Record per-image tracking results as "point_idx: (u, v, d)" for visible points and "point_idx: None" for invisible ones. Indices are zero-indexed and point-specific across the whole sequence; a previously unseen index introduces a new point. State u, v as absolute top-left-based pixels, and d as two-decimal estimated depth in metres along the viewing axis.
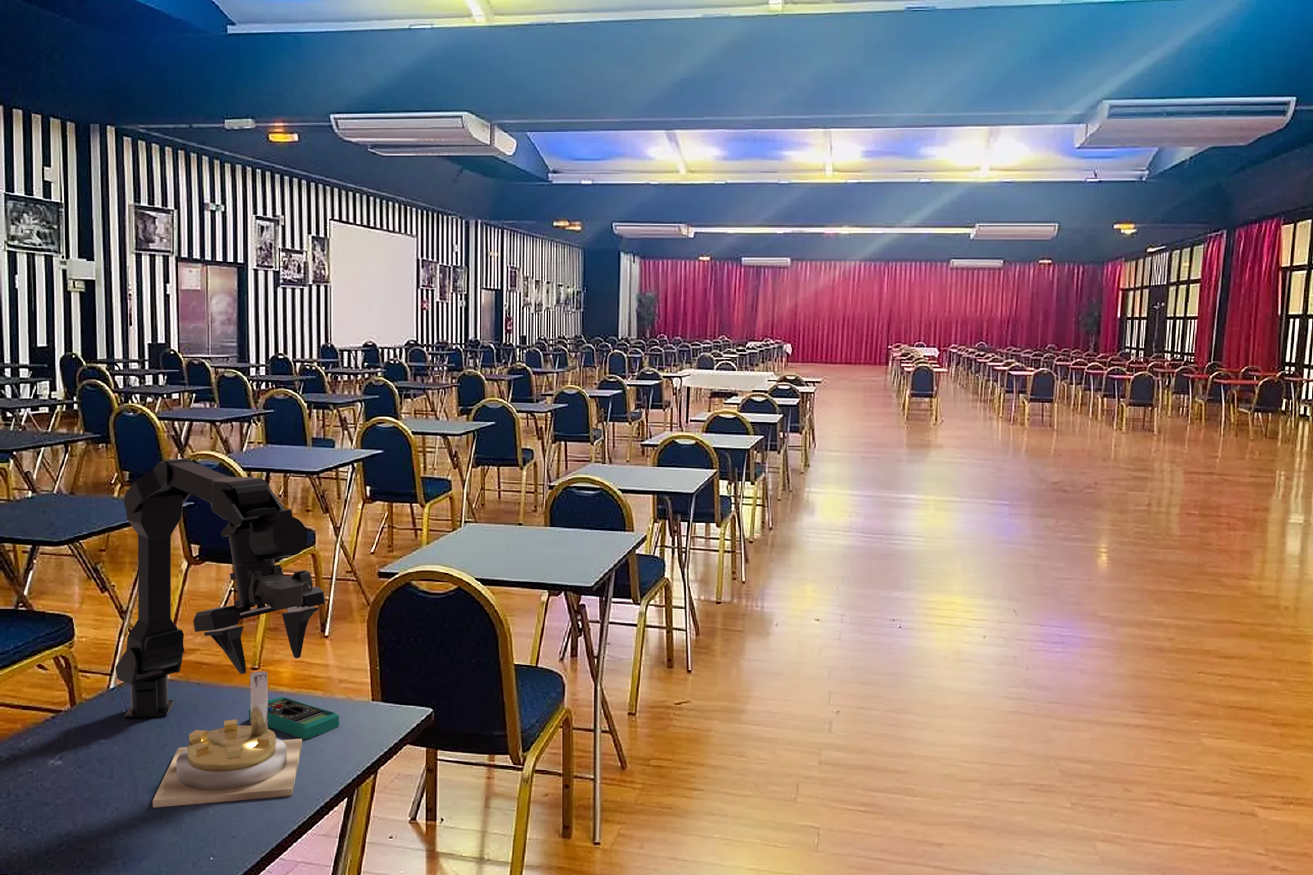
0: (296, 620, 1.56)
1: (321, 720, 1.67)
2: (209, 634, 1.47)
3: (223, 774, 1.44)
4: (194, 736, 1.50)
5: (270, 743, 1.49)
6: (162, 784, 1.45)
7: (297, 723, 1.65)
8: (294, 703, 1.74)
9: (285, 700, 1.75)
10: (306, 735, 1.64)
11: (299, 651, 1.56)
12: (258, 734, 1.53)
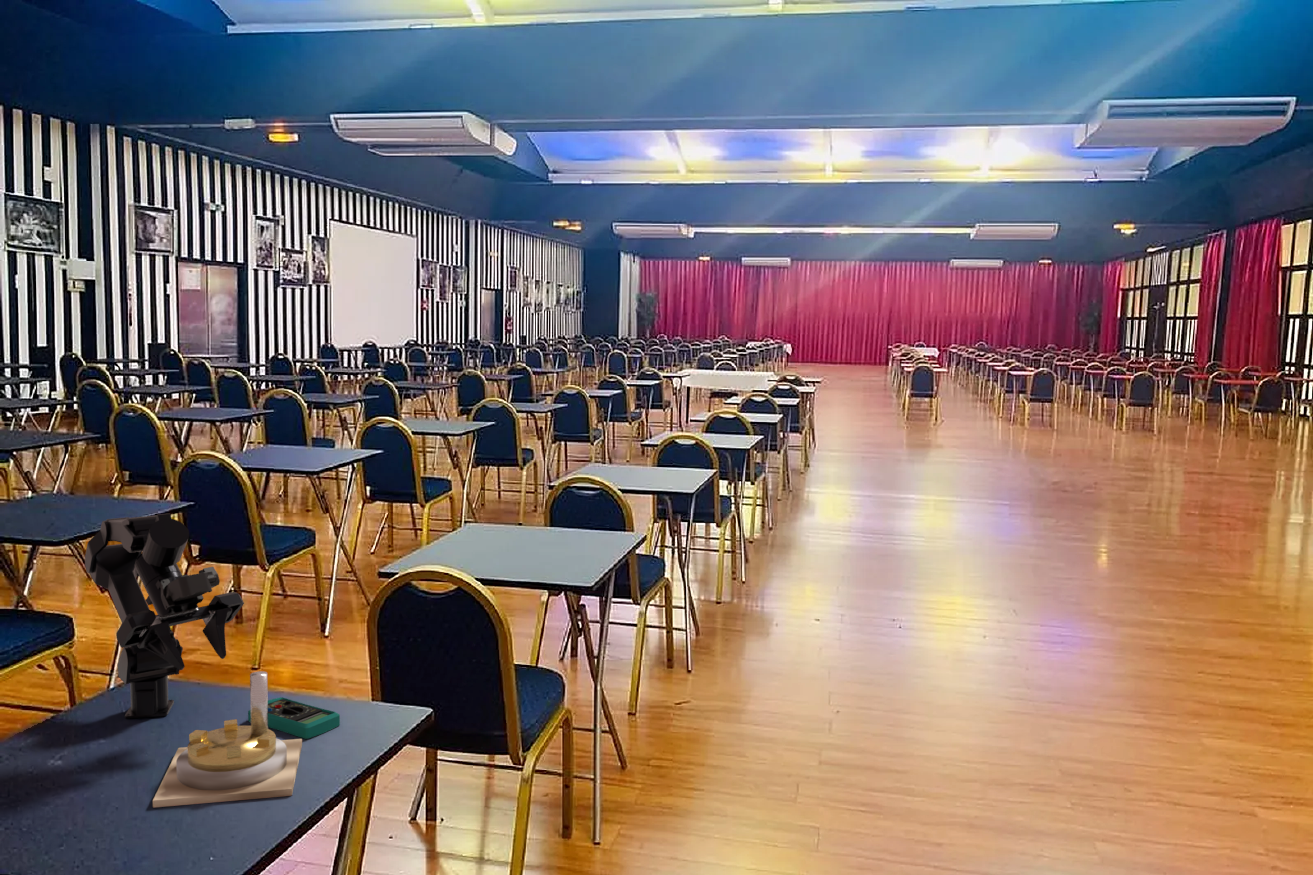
0: (213, 625, 1.65)
1: (322, 719, 1.67)
2: (141, 642, 1.58)
3: (223, 774, 1.44)
4: (194, 736, 1.50)
5: (270, 743, 1.49)
6: (162, 784, 1.45)
7: (298, 723, 1.65)
8: (293, 703, 1.74)
9: (284, 700, 1.75)
10: (308, 735, 1.64)
11: (223, 649, 1.63)
12: (258, 734, 1.53)
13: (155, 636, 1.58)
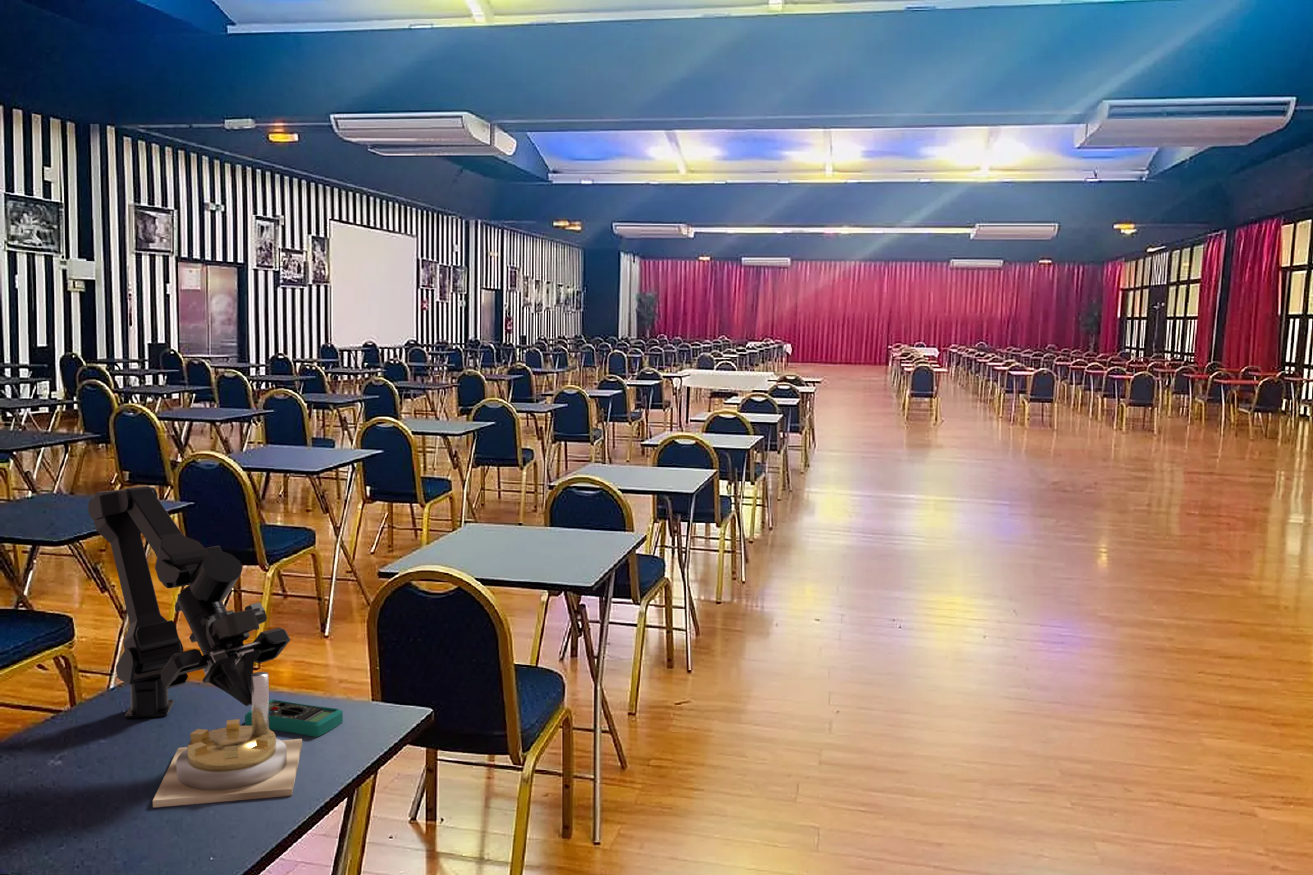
0: (241, 668, 1.56)
1: (329, 717, 1.68)
2: (206, 677, 1.53)
3: (223, 774, 1.44)
4: (195, 735, 1.50)
5: (269, 744, 1.49)
6: (162, 784, 1.45)
7: (307, 722, 1.66)
8: (288, 704, 1.73)
9: (276, 702, 1.74)
10: (319, 732, 1.65)
11: None
12: (259, 735, 1.53)
13: (220, 671, 1.54)
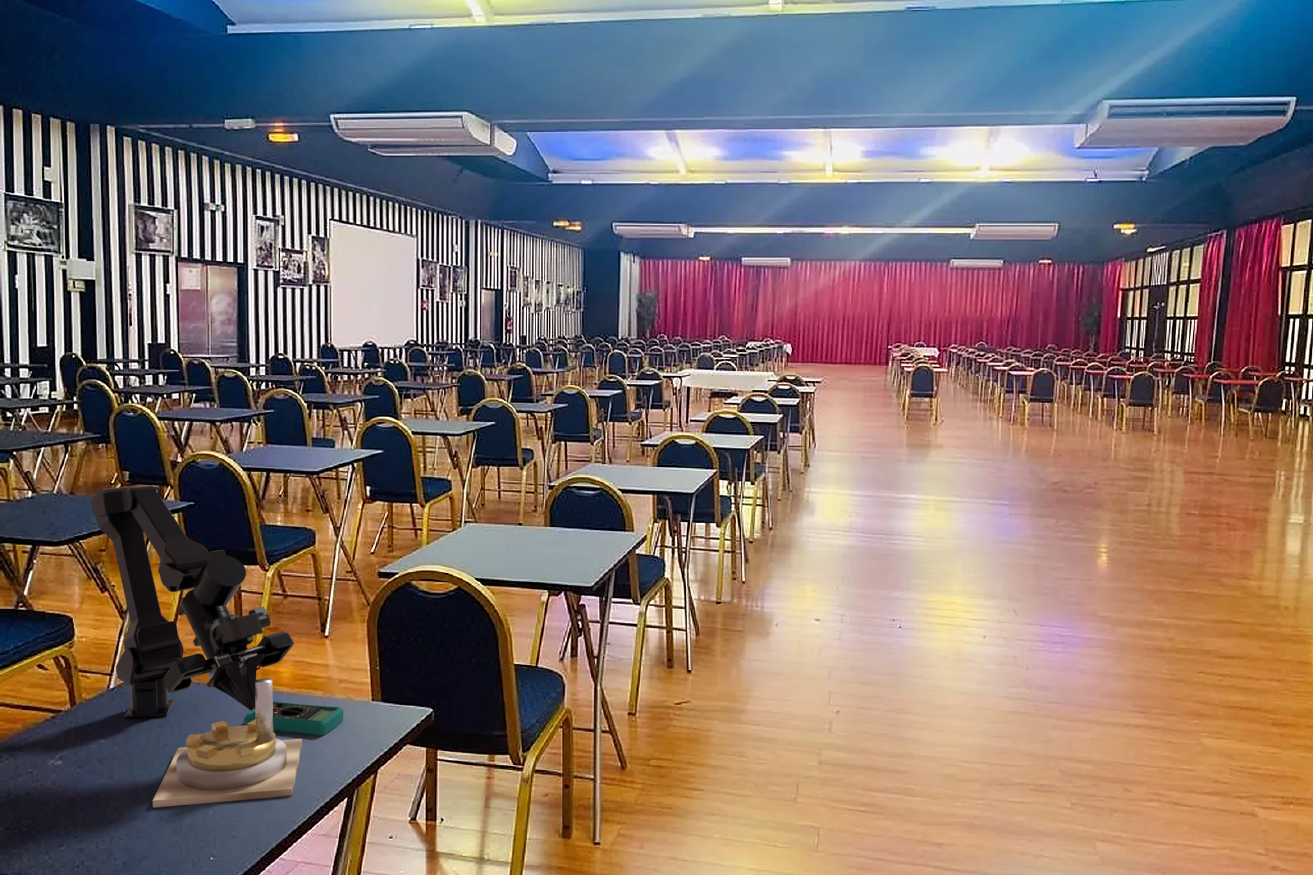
0: (244, 672, 1.55)
1: (332, 715, 1.69)
2: (210, 681, 1.53)
3: (223, 774, 1.44)
4: (213, 726, 1.54)
5: (243, 753, 1.46)
6: (162, 784, 1.45)
7: (312, 721, 1.66)
8: (286, 705, 1.73)
9: (273, 703, 1.73)
10: (324, 731, 1.66)
11: None
12: (257, 741, 1.50)
13: (225, 675, 1.54)
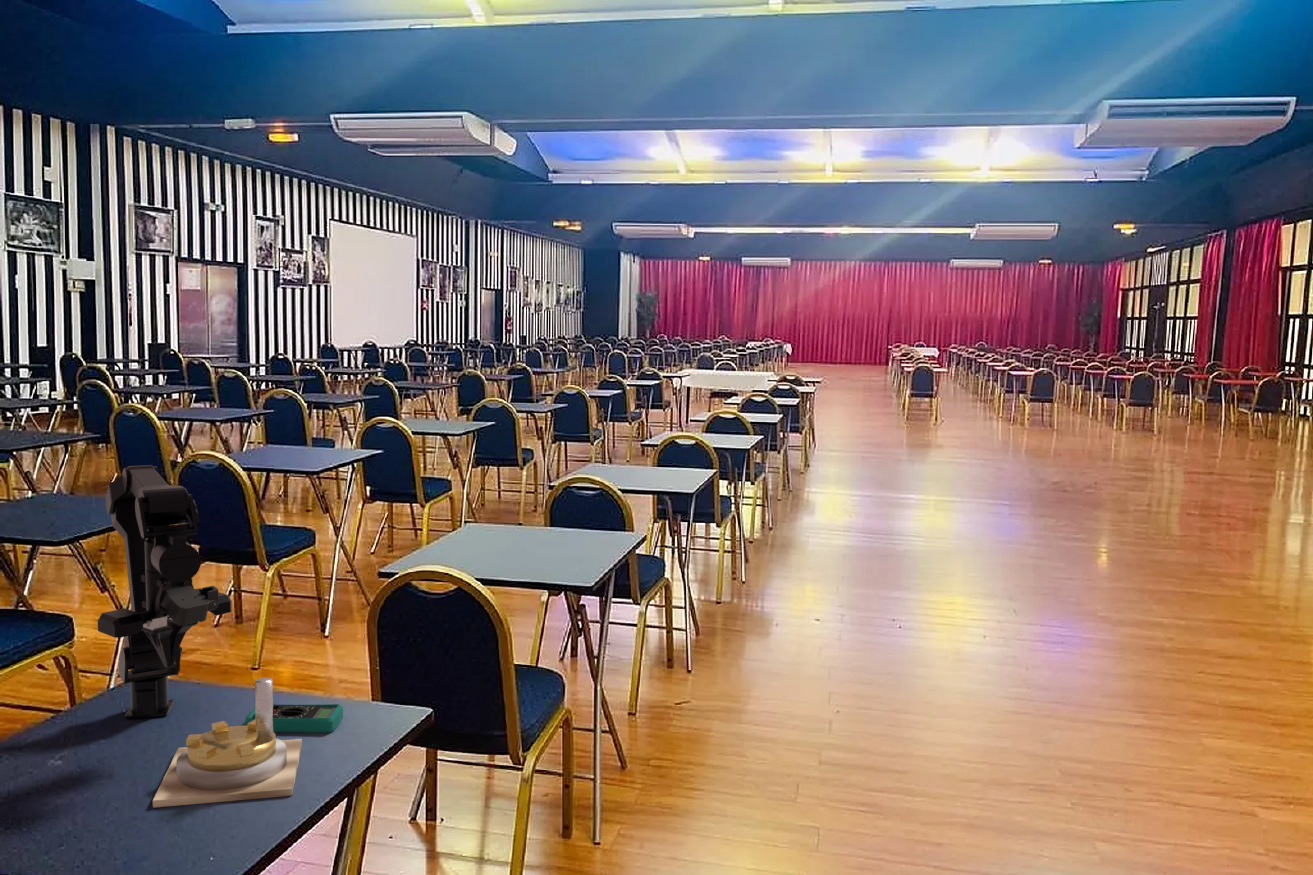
0: (173, 631, 1.59)
1: (336, 712, 1.70)
2: (140, 629, 1.57)
3: (223, 774, 1.44)
4: (213, 726, 1.54)
5: (243, 753, 1.46)
6: (162, 784, 1.45)
7: (319, 719, 1.67)
8: (281, 706, 1.72)
9: None
10: (332, 728, 1.67)
11: (172, 661, 1.59)
12: (257, 741, 1.50)
13: None
